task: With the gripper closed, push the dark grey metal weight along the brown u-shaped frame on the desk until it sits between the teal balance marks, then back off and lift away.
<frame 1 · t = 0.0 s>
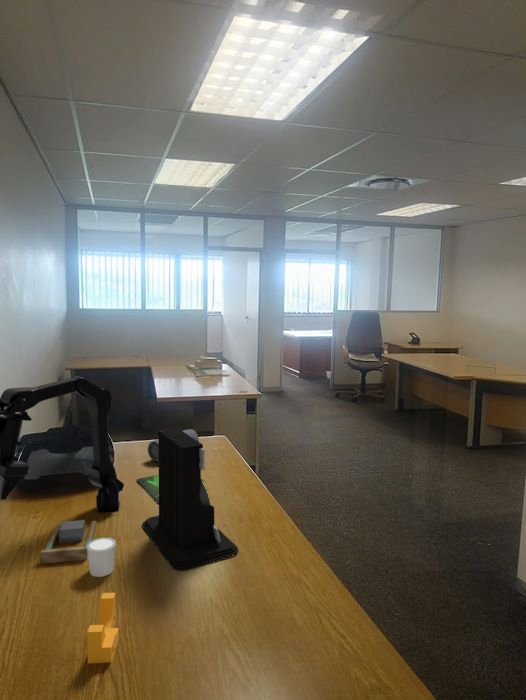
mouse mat: (176, 488, 175), on the table
bluetooth speaker: (174, 457, 208), on the table
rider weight: (72, 538, 137), resting in brown u-shaped frame
white cylinder: (101, 571, 121), on the table
brown u-shaped frame: (71, 540, 136), on the table
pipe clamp: (107, 642, 97), on the table
award: (187, 538, 138), on the table
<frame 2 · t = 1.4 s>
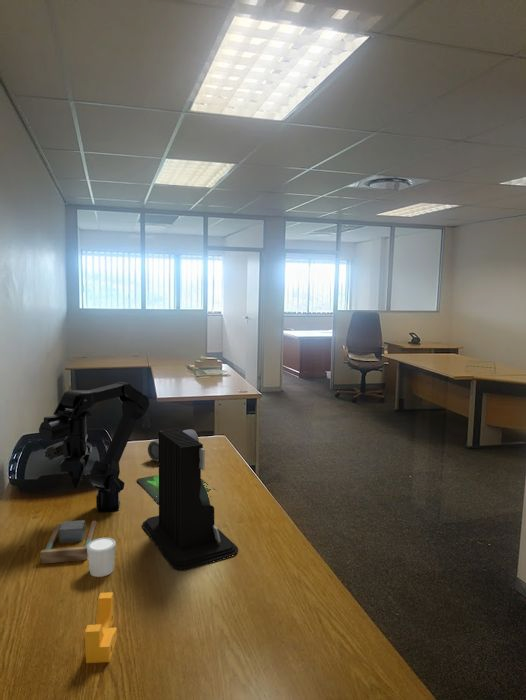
hand: (77, 484, 145), 12 cm above the table, tool pointing down, fingers open, 5 cm apart
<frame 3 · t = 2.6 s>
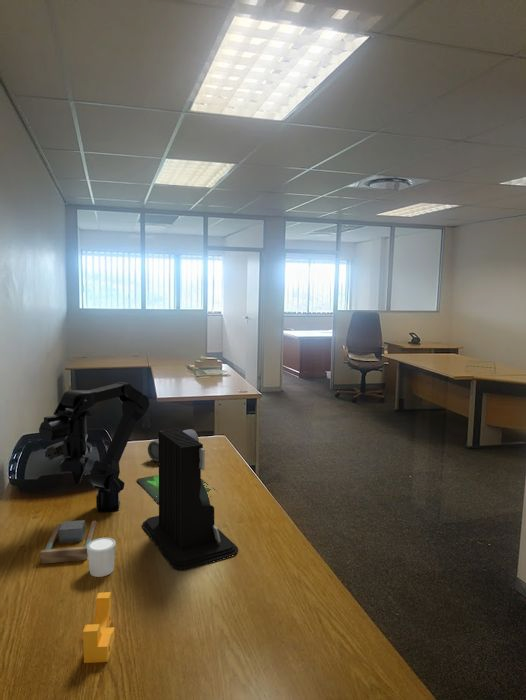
hand: (77, 484, 145), 12 cm above the table, tool pointing down, fingers closed
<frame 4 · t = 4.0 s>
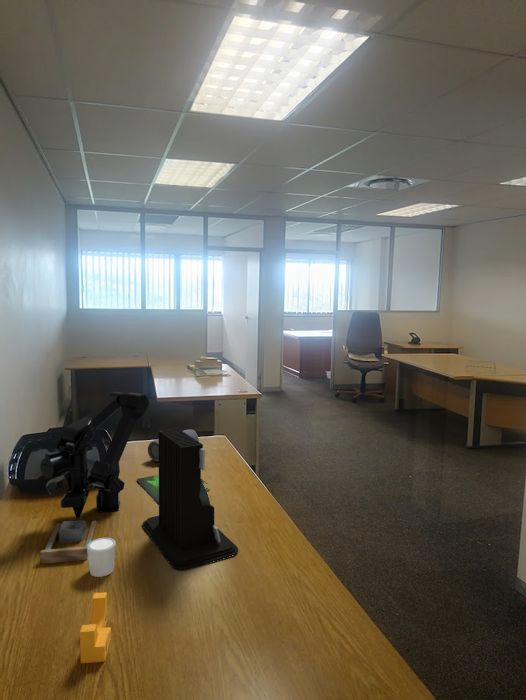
hand: (78, 517, 146), 2 cm above the table, tool pointing down, fingers closed
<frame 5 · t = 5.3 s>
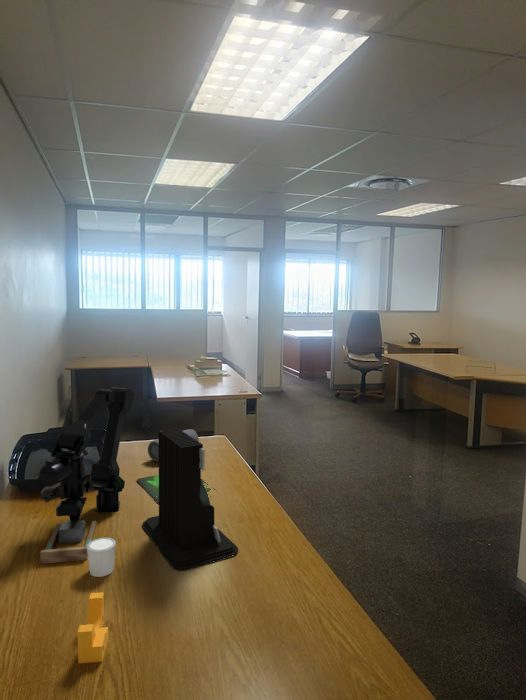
hand: (74, 525, 141), 2 cm above the table, tool pointing down, fingers closed
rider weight: (72, 538, 137), resting in brown u-shaped frame, touching gripper
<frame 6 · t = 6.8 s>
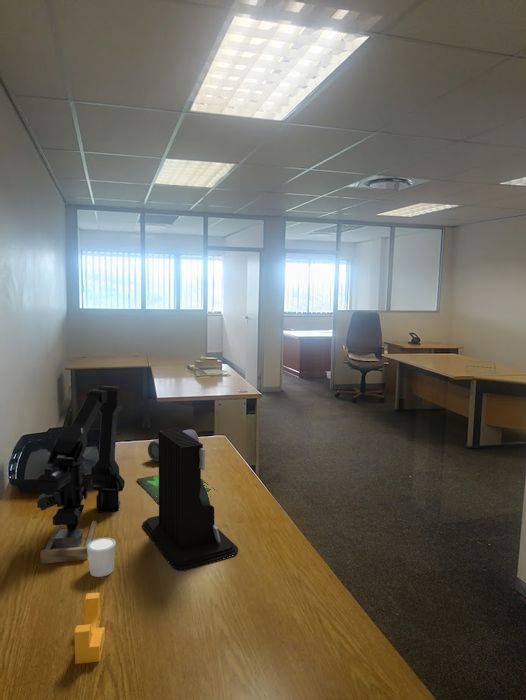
hand: (71, 534, 136), 2 cm above the table, tool pointing down, fingers closed
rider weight: (68, 547, 132), resting in brown u-shaped frame
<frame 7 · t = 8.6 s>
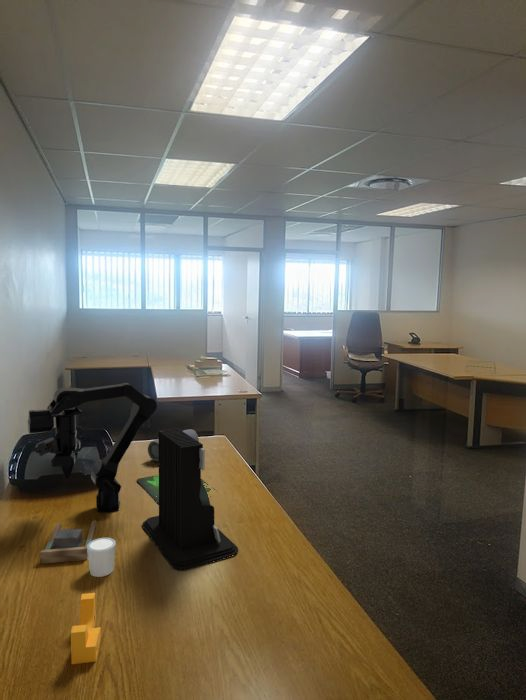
hand: (67, 478, 149), 12 cm above the table, tool pointing down, fingers closed
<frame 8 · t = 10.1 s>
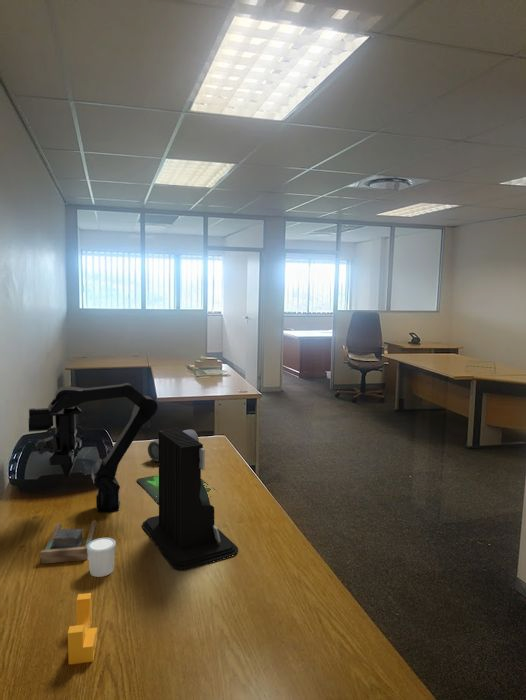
hand: (66, 477, 150), 12 cm above the table, tool pointing down, fingers closed
at the end: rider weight inside the target area (1.9 cm from its centre), resting in brown u-shaped frame; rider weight tilted 0° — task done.
